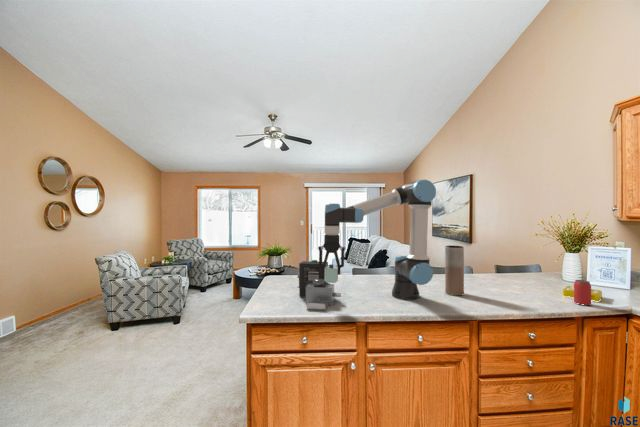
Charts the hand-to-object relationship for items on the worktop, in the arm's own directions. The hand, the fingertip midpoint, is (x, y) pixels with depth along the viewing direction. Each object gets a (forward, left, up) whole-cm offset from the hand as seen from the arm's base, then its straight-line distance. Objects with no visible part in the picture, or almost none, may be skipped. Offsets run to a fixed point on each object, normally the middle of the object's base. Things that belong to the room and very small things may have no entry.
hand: (331, 280), depth 144 cm
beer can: (-127, -27, -14) cm, 131 cm away
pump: (0, 0, 0) cm, 0 cm away
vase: (-68, -38, -14) cm, 79 cm away
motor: (+5, -3, -14) cm, 15 cm away
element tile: (-136, -42, -14) cm, 144 cm away
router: (+13, -21, -14) cm, 28 cm away
